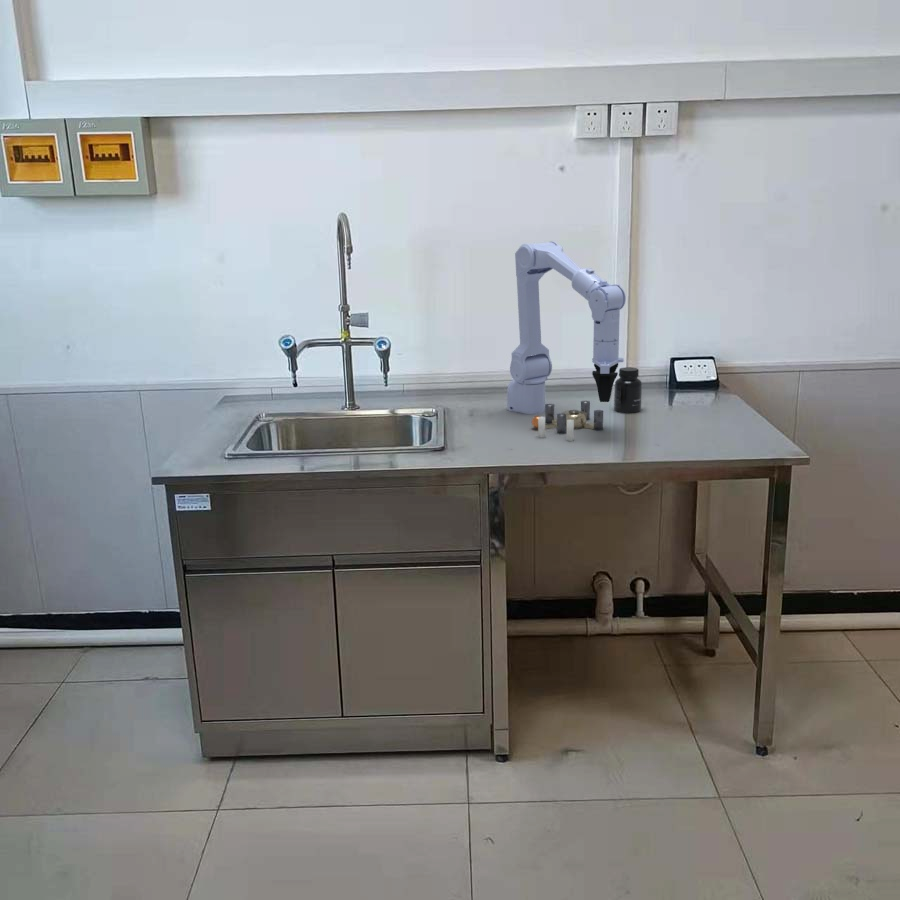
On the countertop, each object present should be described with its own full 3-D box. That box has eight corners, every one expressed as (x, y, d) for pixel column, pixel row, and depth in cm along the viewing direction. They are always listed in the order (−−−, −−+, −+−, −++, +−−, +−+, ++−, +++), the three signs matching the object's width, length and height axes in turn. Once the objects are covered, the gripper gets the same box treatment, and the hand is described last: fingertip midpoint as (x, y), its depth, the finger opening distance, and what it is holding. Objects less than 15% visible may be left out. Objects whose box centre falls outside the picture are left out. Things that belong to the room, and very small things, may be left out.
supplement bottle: (641, 418, 223) (642, 372, 219) (613, 418, 224) (614, 371, 220) (640, 411, 229) (642, 366, 225) (614, 410, 230) (615, 365, 227)
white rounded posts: (537, 438, 206) (537, 417, 205) (548, 431, 211) (549, 411, 209) (570, 443, 202) (570, 422, 200) (581, 436, 206) (582, 416, 205)
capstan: (529, 429, 212) (529, 411, 211) (558, 414, 225) (558, 397, 223) (588, 438, 204) (588, 419, 203) (615, 421, 216) (615, 404, 215)
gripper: (623, 345, 193) (622, 405, 197) (624, 333, 207) (622, 390, 211) (591, 345, 195) (590, 405, 199) (593, 333, 208) (593, 389, 212)
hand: (605, 397), depth 205 cm, fingers open, 7 cm apart
